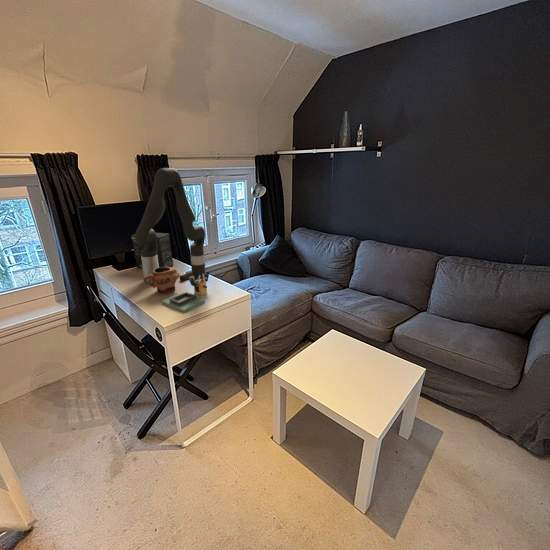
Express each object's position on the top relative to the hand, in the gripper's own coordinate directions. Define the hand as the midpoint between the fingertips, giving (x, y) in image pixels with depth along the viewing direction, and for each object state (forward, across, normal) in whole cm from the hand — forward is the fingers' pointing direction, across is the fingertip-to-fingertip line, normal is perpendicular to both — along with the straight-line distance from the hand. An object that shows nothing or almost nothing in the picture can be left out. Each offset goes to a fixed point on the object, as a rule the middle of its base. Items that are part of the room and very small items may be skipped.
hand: (200, 290), depth 171 cm
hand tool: (+2, -15, -25) cm, 29 cm away
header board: (+2, +14, +2) cm, 14 cm away
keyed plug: (+2, 0, 0) cm, 2 cm away
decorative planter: (+2, +11, -19) cm, 22 cm away
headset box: (+2, -12, -60) cm, 61 cm away
